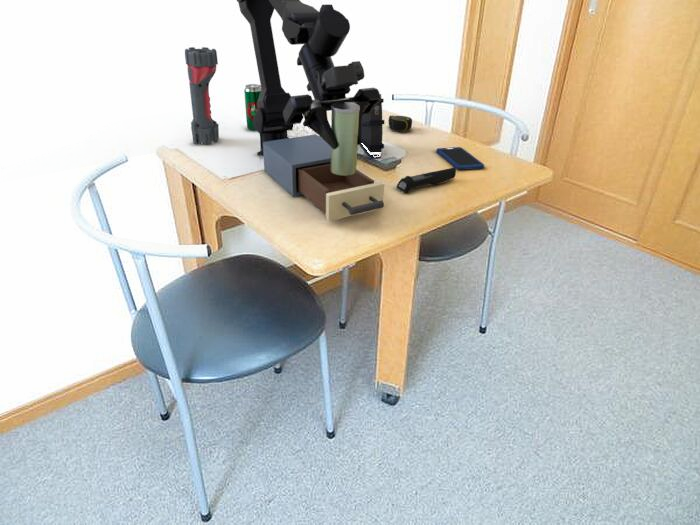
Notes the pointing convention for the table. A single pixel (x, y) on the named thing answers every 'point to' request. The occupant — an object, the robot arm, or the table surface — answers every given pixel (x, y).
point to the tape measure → (400, 123)
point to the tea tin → (344, 137)
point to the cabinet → (294, 159)
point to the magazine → (373, 130)
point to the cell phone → (460, 158)
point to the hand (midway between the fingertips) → (347, 146)
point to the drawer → (340, 191)
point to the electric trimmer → (425, 179)
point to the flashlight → (201, 93)
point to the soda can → (251, 103)
